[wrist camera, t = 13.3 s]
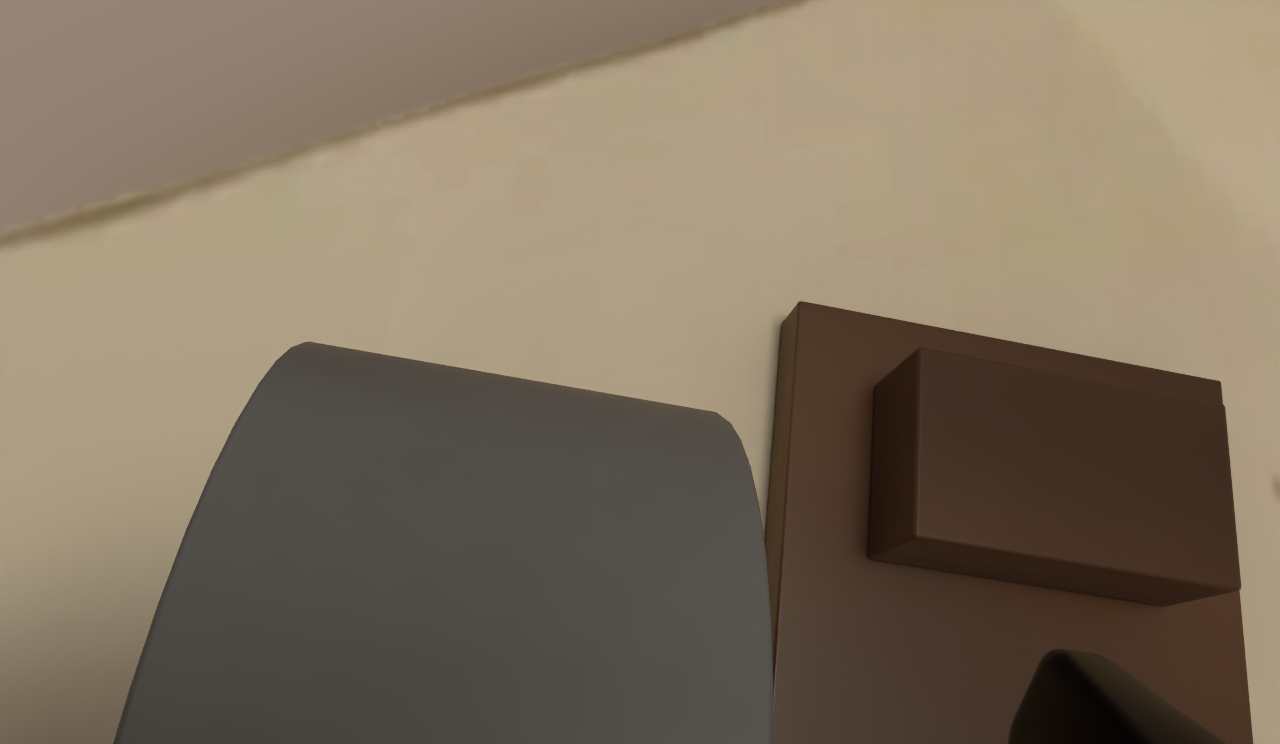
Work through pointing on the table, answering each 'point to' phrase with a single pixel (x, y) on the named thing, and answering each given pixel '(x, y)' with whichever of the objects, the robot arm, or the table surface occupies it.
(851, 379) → the holder
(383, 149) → the table surface
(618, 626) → the tape roll
